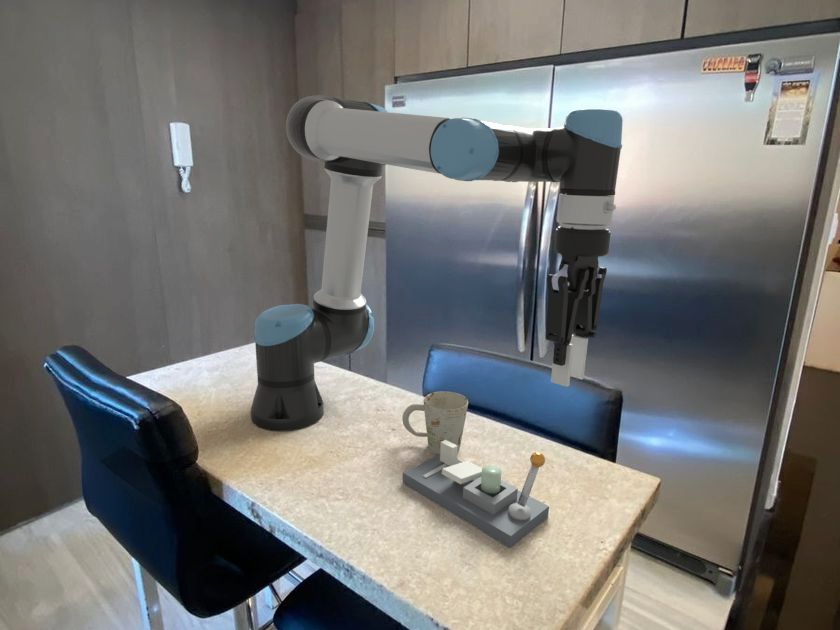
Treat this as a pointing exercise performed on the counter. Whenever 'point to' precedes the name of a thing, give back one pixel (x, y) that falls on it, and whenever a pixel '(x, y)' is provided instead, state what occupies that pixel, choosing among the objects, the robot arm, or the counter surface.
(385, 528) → the counter surface
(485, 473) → the button
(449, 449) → the slider
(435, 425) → the mug
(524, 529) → the panel
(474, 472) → the plate
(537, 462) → the lever
